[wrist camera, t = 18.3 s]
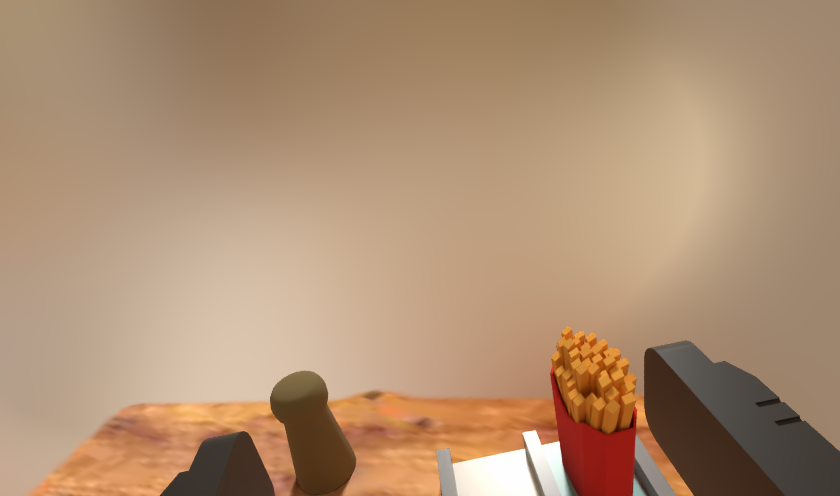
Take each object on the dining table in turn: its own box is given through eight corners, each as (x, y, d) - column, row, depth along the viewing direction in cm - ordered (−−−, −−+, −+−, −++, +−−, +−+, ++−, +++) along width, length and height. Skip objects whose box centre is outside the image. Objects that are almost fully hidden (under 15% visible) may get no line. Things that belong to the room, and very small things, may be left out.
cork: (343, 434, 51) (315, 352, 47) (365, 472, 46) (335, 384, 42) (290, 464, 49) (254, 381, 44) (306, 506, 44) (268, 418, 39)
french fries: (551, 445, 43) (538, 328, 38) (595, 433, 43) (588, 315, 38) (600, 540, 35) (592, 406, 30) (655, 525, 35) (657, 389, 30)
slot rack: (457, 586, 35) (450, 561, 34) (441, 473, 44) (436, 450, 43) (686, 540, 35) (687, 512, 34) (622, 436, 44) (622, 412, 43)
